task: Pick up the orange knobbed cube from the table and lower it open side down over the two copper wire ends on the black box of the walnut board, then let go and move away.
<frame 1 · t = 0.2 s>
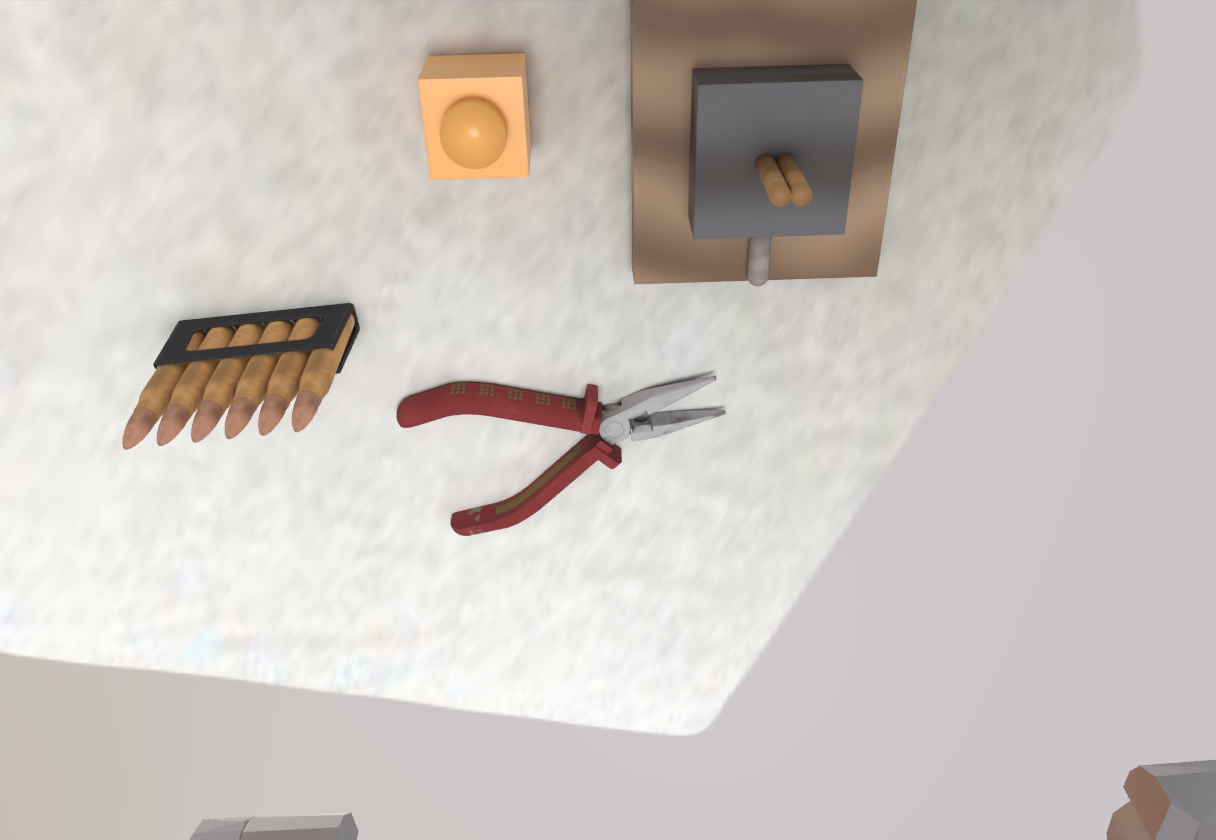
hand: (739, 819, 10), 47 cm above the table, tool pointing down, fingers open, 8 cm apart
board: (759, 131, 54), on the table
pliers: (559, 443, 66), on the table
ammunition clip: (270, 323, 60), on the table
orange knobbed cube: (481, 102, 53), on the table
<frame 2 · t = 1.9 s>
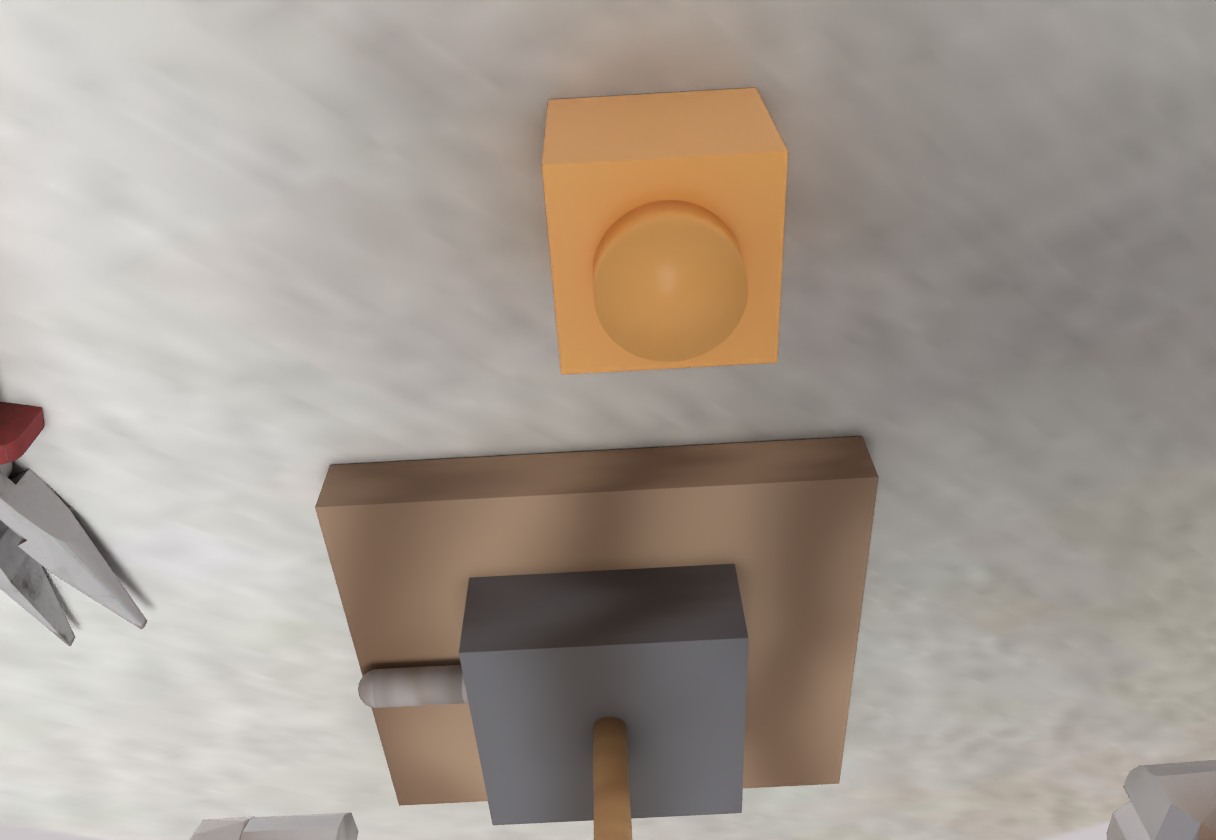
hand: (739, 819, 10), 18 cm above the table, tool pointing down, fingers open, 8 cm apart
board: (607, 617, 34), on the table
orange knobbed cube: (654, 192, 25), on the table
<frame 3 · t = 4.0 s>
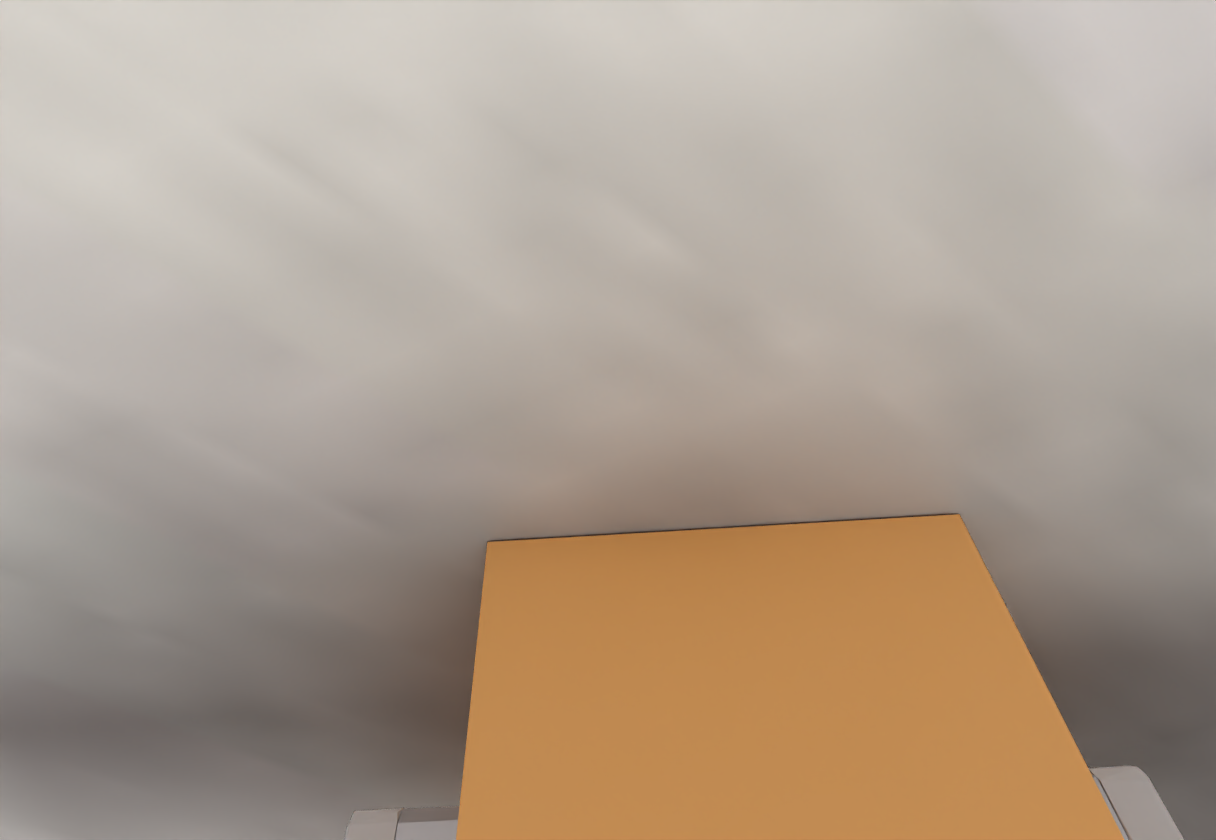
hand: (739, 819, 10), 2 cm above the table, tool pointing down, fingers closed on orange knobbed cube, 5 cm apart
orange knobbed cube: (720, 687, 12), on the table, touching gripper
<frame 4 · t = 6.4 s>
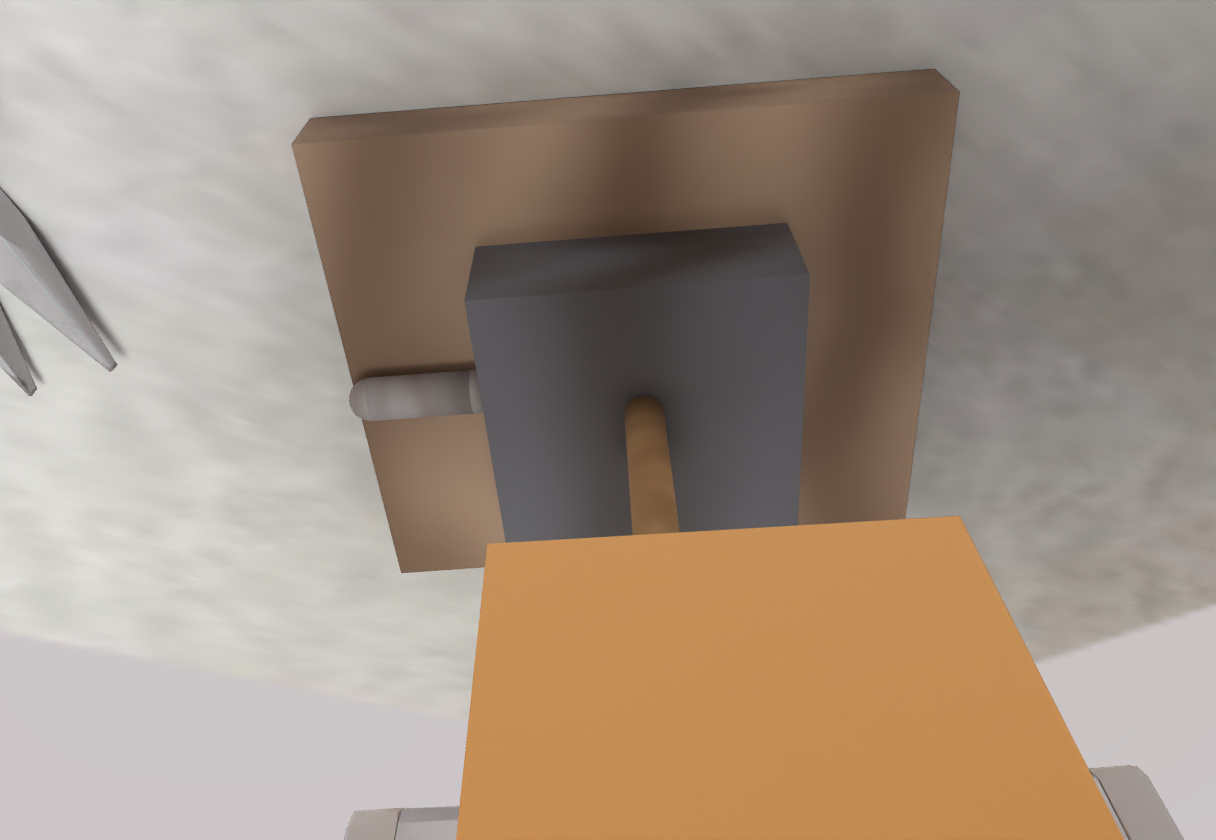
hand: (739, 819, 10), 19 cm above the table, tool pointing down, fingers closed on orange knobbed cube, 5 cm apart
board: (635, 332, 29), on the table
orange knobbed cube: (720, 689, 12), point 18 cm above the table, touching gripper
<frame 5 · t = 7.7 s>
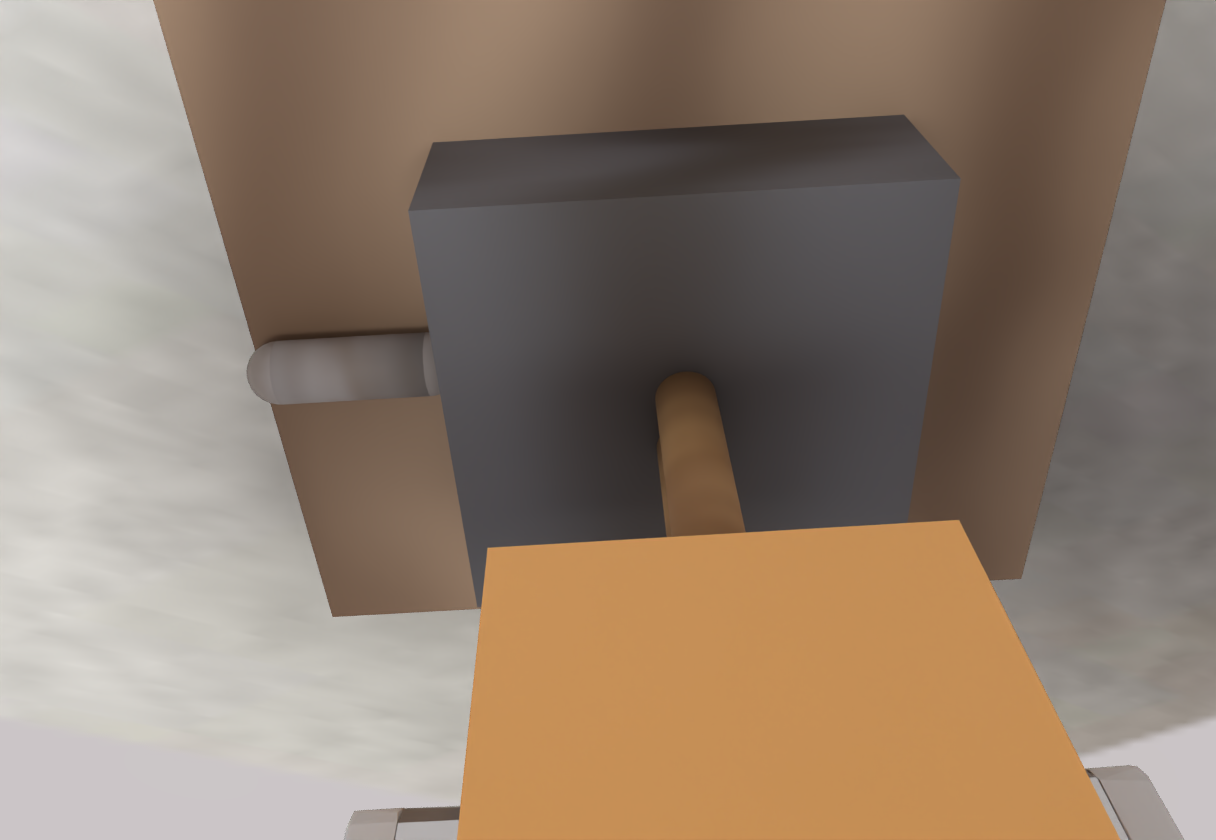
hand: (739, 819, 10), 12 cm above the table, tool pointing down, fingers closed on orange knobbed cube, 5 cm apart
board: (664, 287, 21), on the table
orange knobbed cube: (720, 692, 12), point 11 cm above the table, touching gripper
when the fingers open (8 cm above the table, at t = 8.9 s): orange knobbed cube stays where it is, resting on board.
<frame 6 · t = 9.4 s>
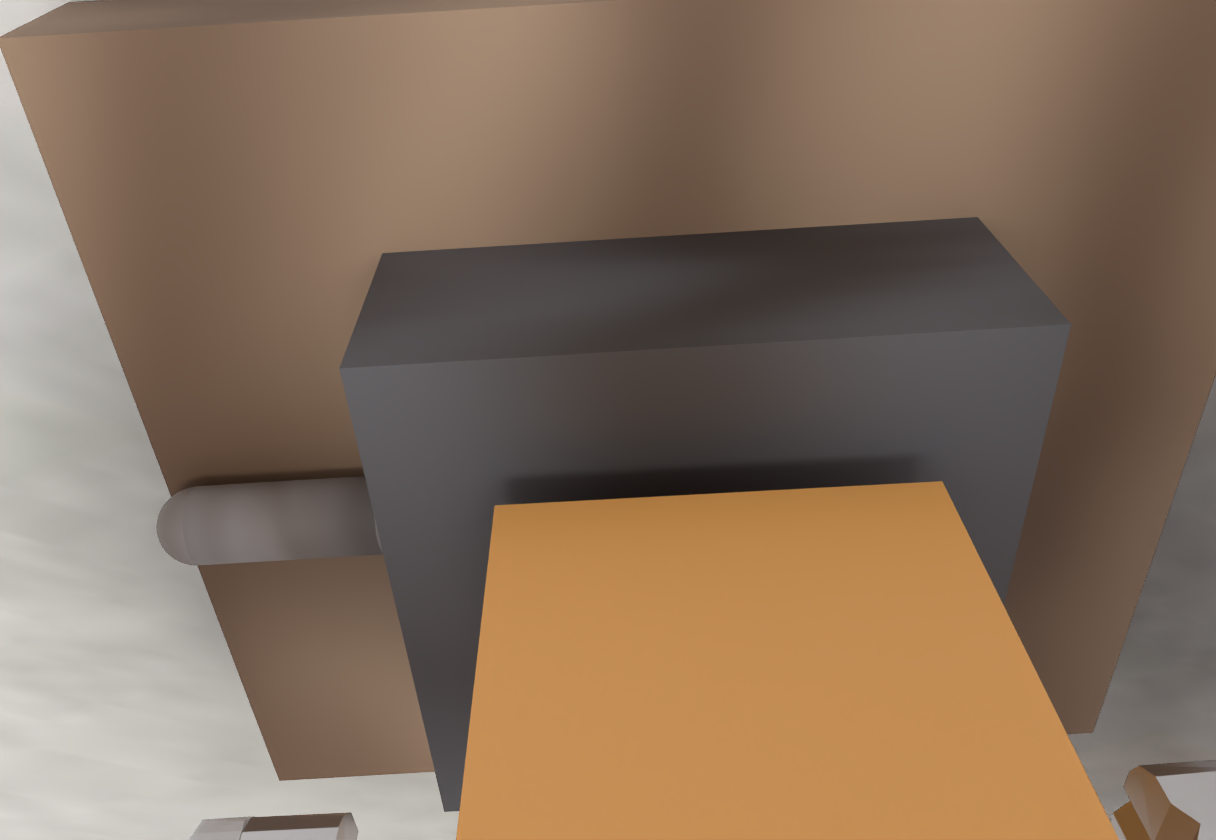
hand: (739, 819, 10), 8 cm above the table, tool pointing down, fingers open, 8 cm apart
board: (671, 403, 17), on the table
orange knobbed cube: (715, 649, 12), point 6 cm above the table, touching board
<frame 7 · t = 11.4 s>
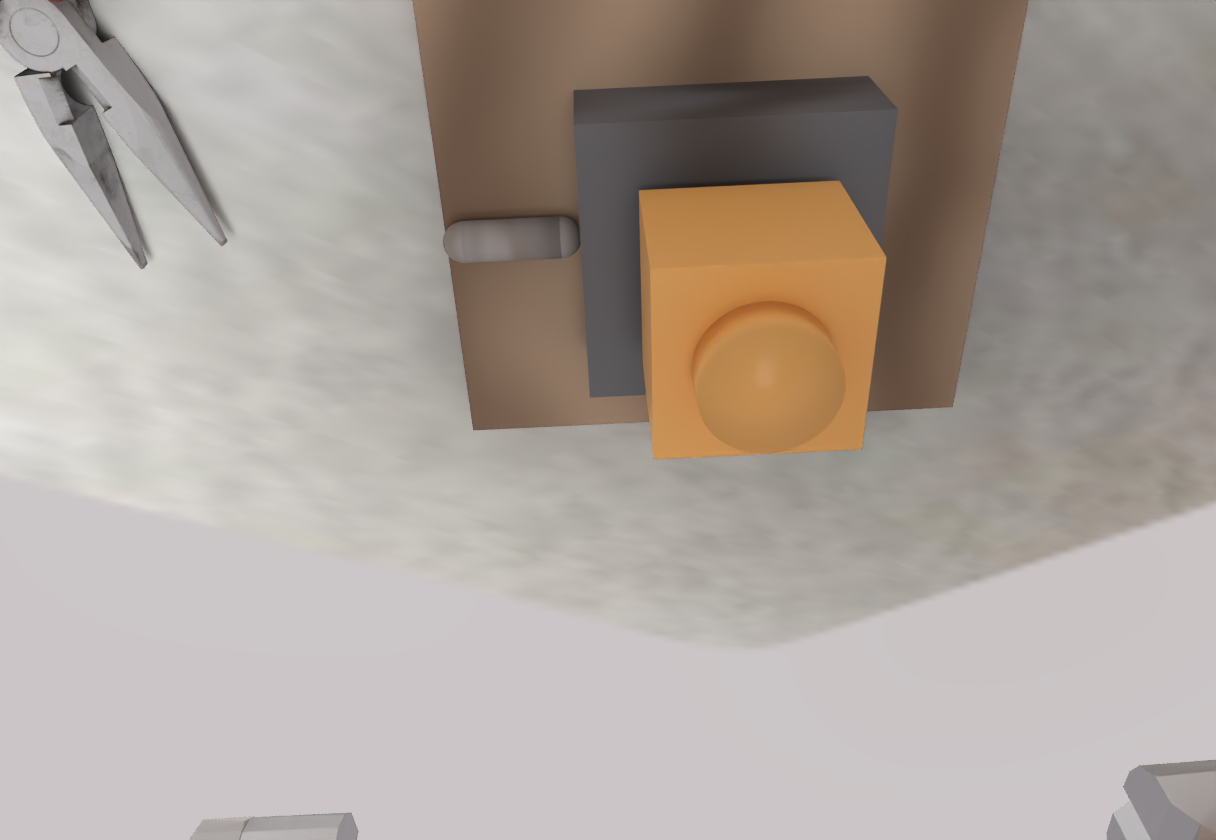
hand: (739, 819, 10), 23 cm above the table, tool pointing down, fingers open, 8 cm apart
board: (710, 196, 31), on the table
orange knobbed cube: (735, 276, 26), point 6 cm above the table, touching board
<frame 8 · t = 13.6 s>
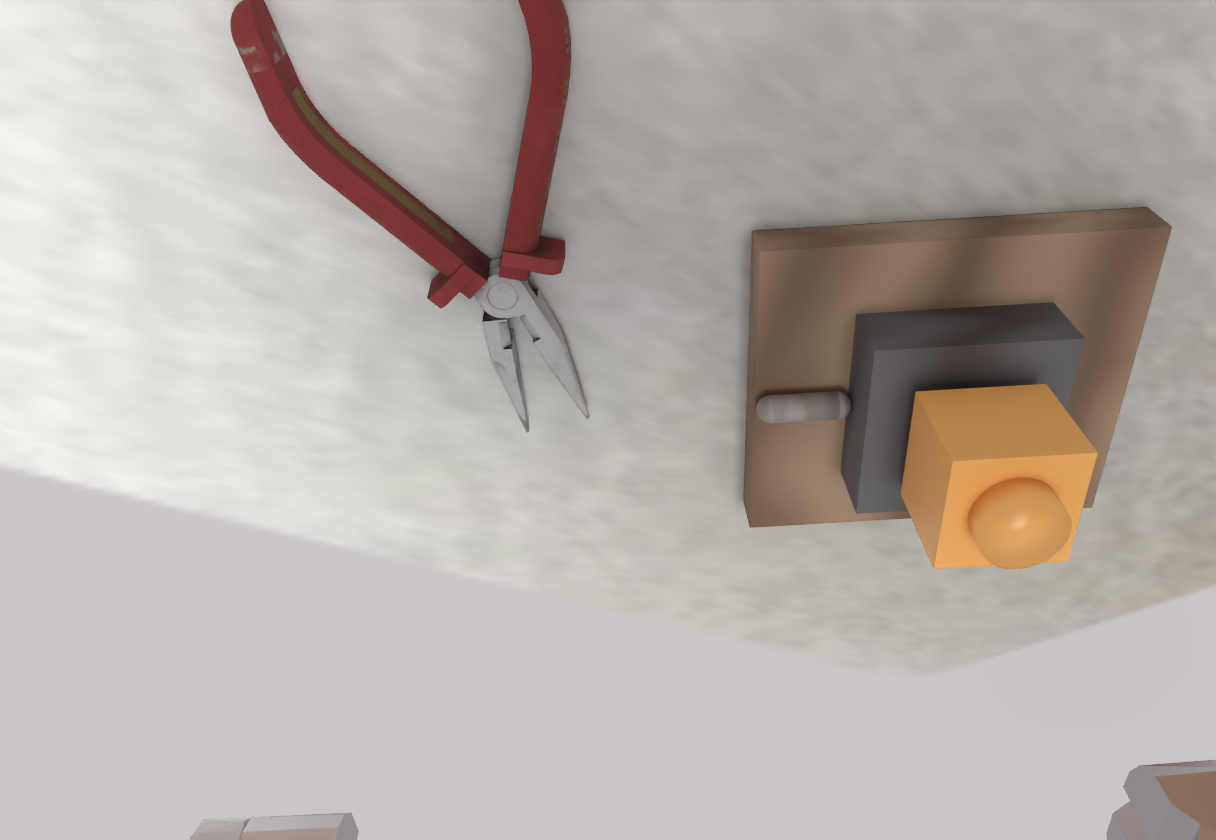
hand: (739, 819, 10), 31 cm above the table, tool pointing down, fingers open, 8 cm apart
board: (927, 367, 44), on the table
pliers: (435, 191, 40), on the table
orange knobbed cube: (970, 440, 39), point 6 cm above the table, touching board
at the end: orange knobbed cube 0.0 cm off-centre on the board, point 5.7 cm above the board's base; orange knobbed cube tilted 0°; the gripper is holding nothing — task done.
